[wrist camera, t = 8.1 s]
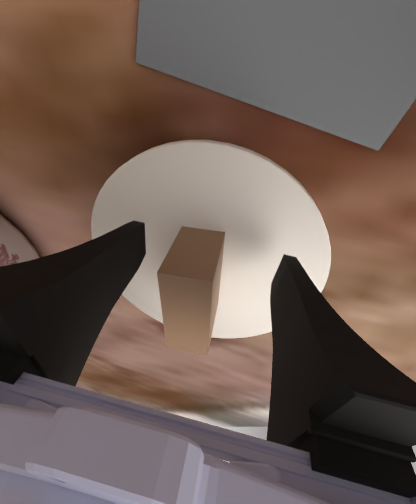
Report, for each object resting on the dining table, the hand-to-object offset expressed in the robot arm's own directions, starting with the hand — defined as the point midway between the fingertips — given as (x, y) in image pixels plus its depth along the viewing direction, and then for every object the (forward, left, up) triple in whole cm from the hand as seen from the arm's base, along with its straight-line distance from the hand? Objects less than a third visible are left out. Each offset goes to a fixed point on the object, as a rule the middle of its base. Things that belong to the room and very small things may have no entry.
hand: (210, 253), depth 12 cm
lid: (0, +3, -2) cm, 4 cm away
